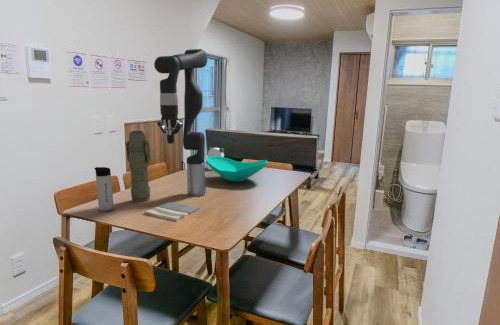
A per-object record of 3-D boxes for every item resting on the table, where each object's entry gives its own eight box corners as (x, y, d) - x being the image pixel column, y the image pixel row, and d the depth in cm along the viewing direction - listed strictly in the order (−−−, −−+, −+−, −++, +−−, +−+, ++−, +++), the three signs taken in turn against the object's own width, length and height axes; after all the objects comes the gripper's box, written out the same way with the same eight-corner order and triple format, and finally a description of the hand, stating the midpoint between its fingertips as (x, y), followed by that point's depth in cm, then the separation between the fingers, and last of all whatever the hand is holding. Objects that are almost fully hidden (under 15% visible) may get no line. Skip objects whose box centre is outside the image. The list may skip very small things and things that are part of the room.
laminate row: (169, 204, 161) (168, 201, 160) (199, 210, 153) (199, 207, 153) (158, 209, 154) (158, 206, 154) (190, 215, 146) (189, 212, 146)
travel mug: (102, 207, 156) (98, 166, 152) (116, 207, 156) (112, 166, 152) (95, 212, 150) (91, 169, 146) (110, 212, 150) (106, 169, 146)
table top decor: (273, 178, 212) (273, 157, 209) (258, 189, 186) (259, 166, 184) (217, 172, 225) (216, 153, 223) (196, 182, 200) (196, 161, 197)
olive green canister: (134, 197, 171) (129, 129, 164) (156, 198, 169) (152, 130, 162) (125, 203, 162) (120, 131, 155) (148, 204, 161) (144, 132, 153)
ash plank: (156, 210, 153) (156, 206, 153) (188, 216, 145) (188, 213, 145) (144, 214, 146) (144, 211, 146) (177, 221, 138) (177, 218, 138)
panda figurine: (227, 167, 241) (226, 147, 238) (219, 170, 231) (219, 149, 228) (212, 165, 246) (212, 146, 243) (204, 169, 236) (204, 148, 233)
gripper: (186, 104, 145) (187, 143, 149) (162, 103, 151) (164, 141, 154) (175, 104, 138) (177, 145, 142) (151, 103, 144) (153, 143, 148)
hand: (170, 143), depth 148 cm, fingers closed
